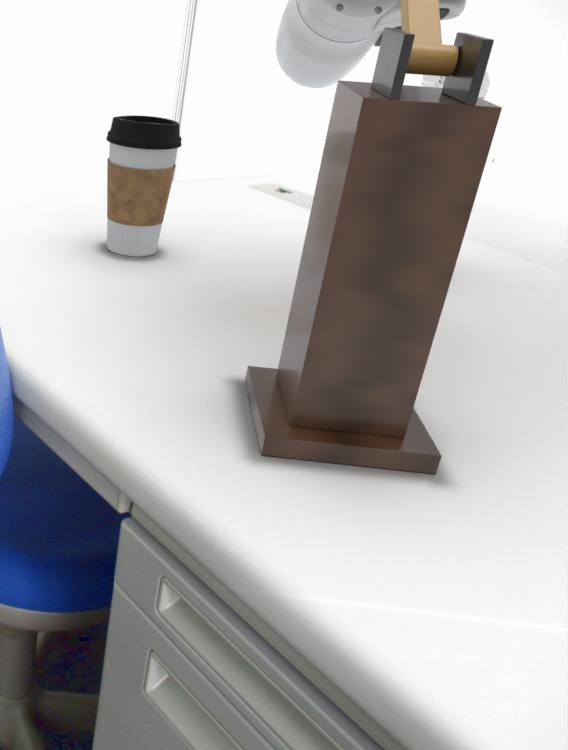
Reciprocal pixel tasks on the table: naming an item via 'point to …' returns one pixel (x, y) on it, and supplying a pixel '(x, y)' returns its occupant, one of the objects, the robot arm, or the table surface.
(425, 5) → the lever
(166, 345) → the table surface
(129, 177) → the coffee cup
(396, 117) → the pedestal
